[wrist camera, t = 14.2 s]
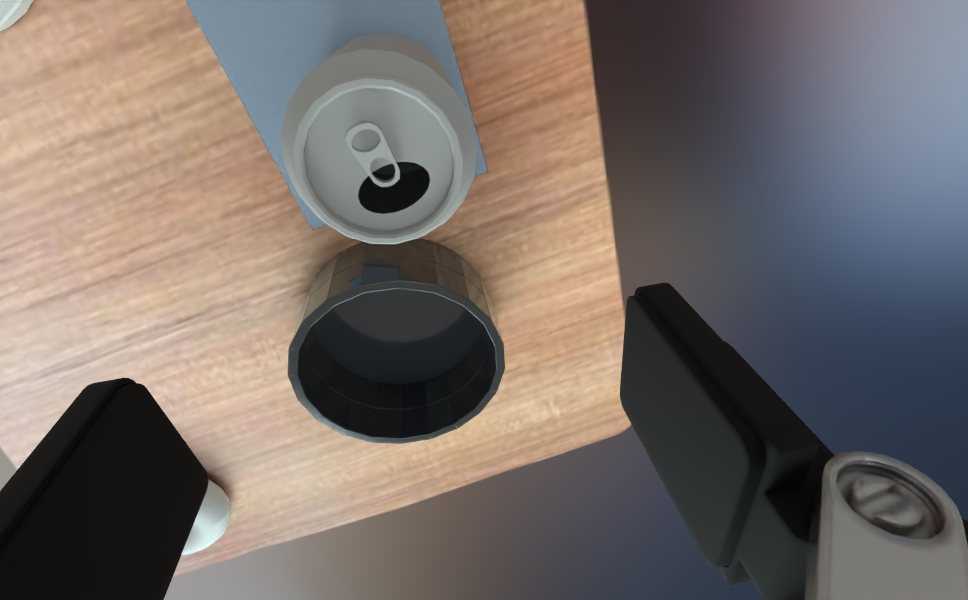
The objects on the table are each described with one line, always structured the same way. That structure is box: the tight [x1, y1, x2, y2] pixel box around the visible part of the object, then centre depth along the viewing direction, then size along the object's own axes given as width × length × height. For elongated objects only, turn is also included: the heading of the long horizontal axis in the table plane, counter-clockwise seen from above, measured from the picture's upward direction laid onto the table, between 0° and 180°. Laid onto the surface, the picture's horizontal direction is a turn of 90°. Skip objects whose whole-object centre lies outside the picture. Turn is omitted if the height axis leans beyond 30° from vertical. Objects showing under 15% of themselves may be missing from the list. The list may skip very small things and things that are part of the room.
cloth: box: [186, 0, 488, 230], centre depth 25 cm, size 18×12×1 cm, turn 16°
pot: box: [288, 238, 505, 444], centre depth 33 cm, size 14×14×6 cm
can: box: [281, 32, 477, 244], centre depth 22 cm, size 8×8×12 cm
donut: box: [181, 479, 231, 555], centre depth 41 cm, size 10×4×10 cm
